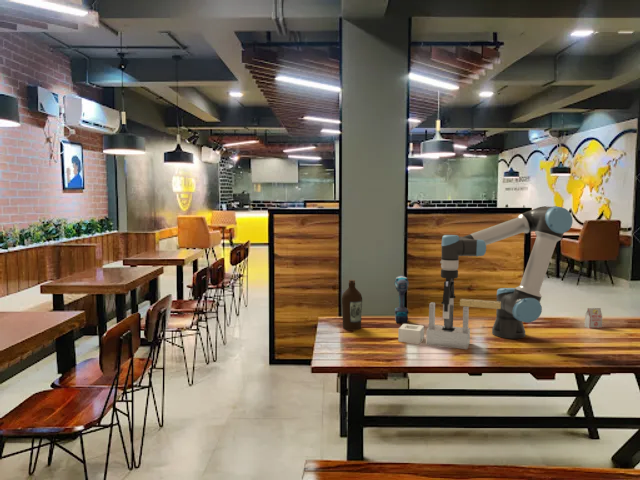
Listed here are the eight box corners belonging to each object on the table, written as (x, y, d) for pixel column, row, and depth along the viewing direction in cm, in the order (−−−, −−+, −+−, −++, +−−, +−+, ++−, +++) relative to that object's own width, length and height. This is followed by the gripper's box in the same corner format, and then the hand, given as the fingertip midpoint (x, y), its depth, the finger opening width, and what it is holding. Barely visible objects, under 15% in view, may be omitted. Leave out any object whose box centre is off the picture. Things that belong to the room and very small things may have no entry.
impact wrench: (406, 316, 268) (406, 272, 266) (410, 326, 246) (410, 279, 244) (392, 315, 269) (392, 272, 267) (394, 326, 246) (395, 279, 244)
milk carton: (584, 326, 245) (585, 307, 244) (597, 326, 245) (597, 307, 245) (589, 328, 241) (590, 309, 240) (601, 327, 242) (602, 308, 241)
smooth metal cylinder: (453, 338, 216) (453, 304, 215) (452, 341, 212) (452, 306, 211) (444, 338, 218) (445, 304, 216) (443, 340, 214) (443, 305, 213)
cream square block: (423, 338, 224) (424, 325, 224) (419, 343, 215) (419, 331, 215) (403, 335, 228) (403, 323, 228) (398, 341, 219) (398, 328, 219)
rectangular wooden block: (500, 307, 207) (501, 301, 206) (500, 309, 203) (500, 303, 203) (460, 304, 213) (461, 298, 213) (459, 305, 210) (459, 300, 210)
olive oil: (337, 326, 245) (337, 279, 243) (354, 324, 250) (355, 277, 248) (348, 331, 236) (348, 282, 234) (366, 328, 241) (366, 280, 239)
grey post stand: (469, 343, 216) (470, 304, 215) (467, 349, 207) (468, 308, 206) (430, 338, 223) (430, 300, 222) (426, 344, 214) (426, 305, 213)
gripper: (445, 265, 225) (444, 308, 227) (436, 272, 202) (435, 320, 204) (461, 266, 222) (460, 310, 224) (454, 273, 199) (452, 322, 201)
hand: (448, 315), depth 214 cm, fingers open, 13 cm apart
